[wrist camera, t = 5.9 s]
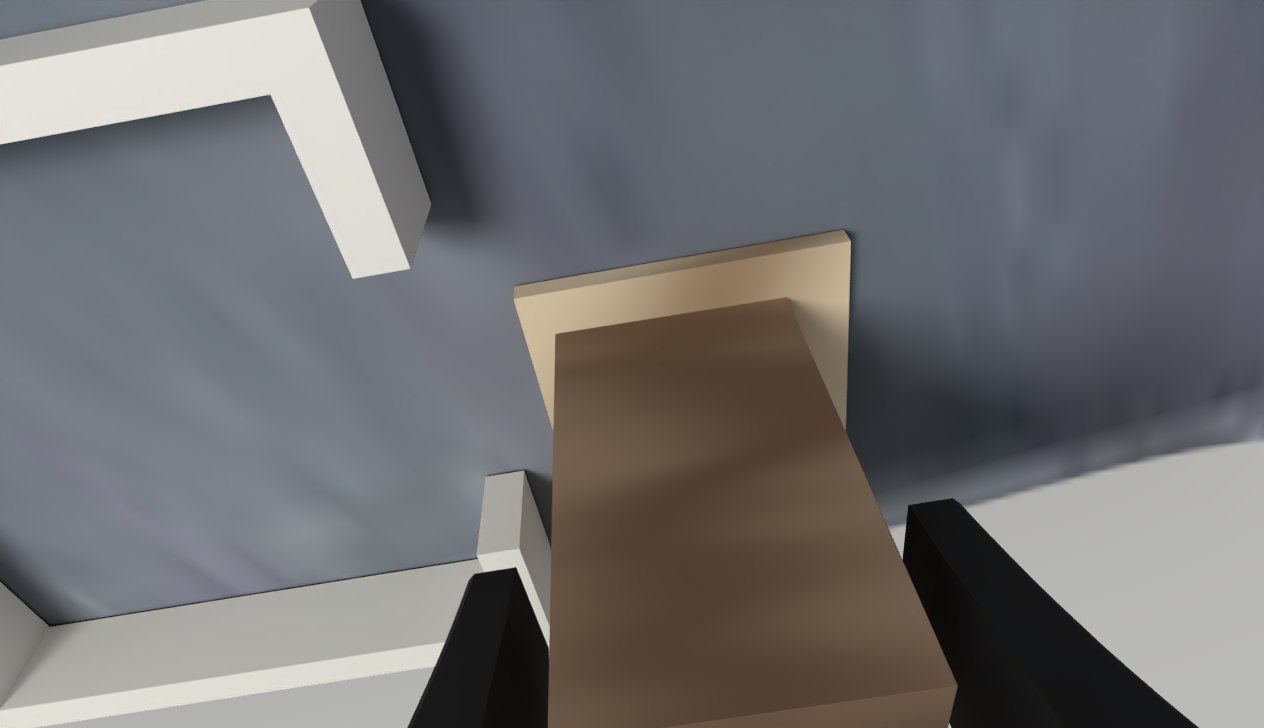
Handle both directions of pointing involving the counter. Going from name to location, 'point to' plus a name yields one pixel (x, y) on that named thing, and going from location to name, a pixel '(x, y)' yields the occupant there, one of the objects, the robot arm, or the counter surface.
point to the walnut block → (722, 540)
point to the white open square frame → (370, 244)
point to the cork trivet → (703, 299)
